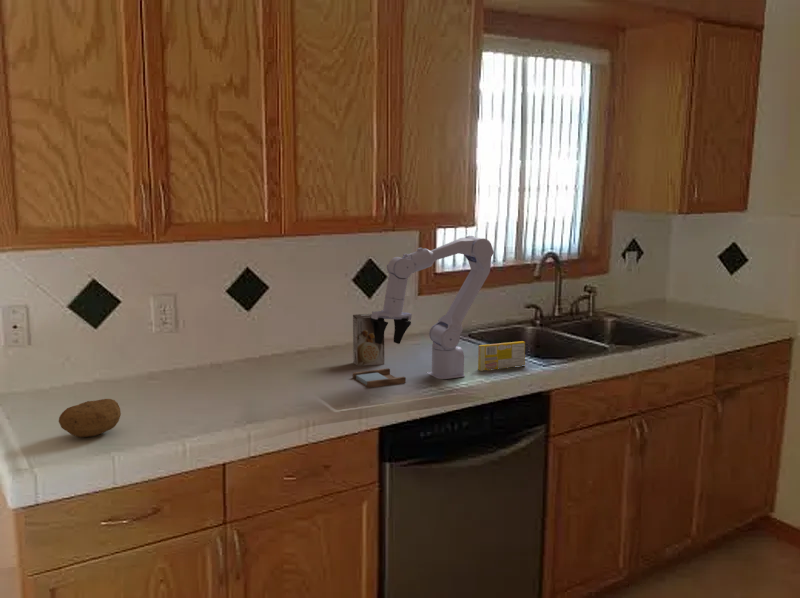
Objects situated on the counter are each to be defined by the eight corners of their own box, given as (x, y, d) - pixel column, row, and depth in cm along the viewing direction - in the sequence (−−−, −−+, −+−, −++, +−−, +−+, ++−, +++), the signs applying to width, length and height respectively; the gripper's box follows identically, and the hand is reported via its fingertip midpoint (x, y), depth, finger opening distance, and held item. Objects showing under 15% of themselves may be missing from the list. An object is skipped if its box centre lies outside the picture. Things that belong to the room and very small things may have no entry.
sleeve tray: (388, 375, 238) (388, 368, 238) (405, 384, 229) (405, 377, 228) (352, 379, 233) (352, 372, 232) (368, 389, 223) (368, 382, 223)
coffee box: (379, 361, 255) (380, 313, 252) (384, 366, 249) (385, 316, 246) (352, 362, 253) (352, 314, 250) (356, 367, 247) (356, 318, 244)
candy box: (521, 365, 253) (522, 340, 251) (525, 367, 251) (526, 342, 249) (477, 369, 247) (478, 344, 245) (480, 371, 245) (481, 345, 243)
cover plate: (377, 376, 235) (377, 372, 235) (389, 383, 228) (389, 379, 228) (356, 379, 232) (356, 375, 231) (367, 385, 225) (367, 381, 224)
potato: (53, 436, 182) (51, 403, 181) (112, 423, 192) (110, 392, 190) (68, 448, 175) (66, 414, 174) (129, 434, 185) (127, 401, 183)
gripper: (403, 296, 236) (395, 339, 238) (367, 294, 226) (360, 340, 228) (419, 300, 231) (411, 345, 233) (383, 299, 221) (376, 345, 223)
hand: (387, 343), depth 230 cm, fingers open, 7 cm apart
